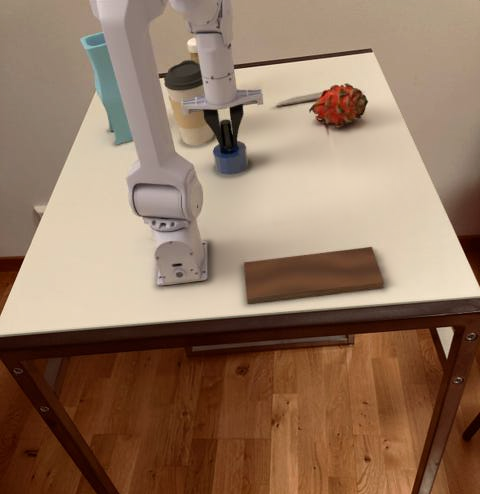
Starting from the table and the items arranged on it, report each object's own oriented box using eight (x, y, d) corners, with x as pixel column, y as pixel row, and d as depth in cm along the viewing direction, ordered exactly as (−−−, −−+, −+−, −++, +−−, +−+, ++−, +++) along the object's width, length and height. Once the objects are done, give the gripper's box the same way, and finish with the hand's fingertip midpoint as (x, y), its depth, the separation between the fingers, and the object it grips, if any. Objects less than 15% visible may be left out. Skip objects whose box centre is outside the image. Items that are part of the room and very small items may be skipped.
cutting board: (383, 287, 74) (384, 282, 73) (247, 303, 75) (246, 298, 74) (371, 252, 80) (371, 246, 79) (244, 267, 81) (243, 262, 80)
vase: (150, 134, 114) (124, 39, 99) (116, 145, 113) (85, 50, 98) (141, 120, 119) (116, 28, 105) (109, 130, 118) (78, 38, 103)
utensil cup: (249, 173, 99) (247, 155, 96) (216, 178, 99) (212, 160, 96) (247, 156, 103) (245, 138, 100) (215, 160, 103) (212, 142, 100)
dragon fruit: (371, 129, 107) (314, 141, 110) (367, 91, 108) (310, 104, 111) (370, 110, 99) (308, 123, 102) (365, 69, 100) (304, 83, 103)
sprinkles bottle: (194, 103, 122) (183, 44, 112) (202, 95, 124) (191, 36, 115) (212, 104, 120) (202, 44, 110) (219, 95, 123) (210, 36, 113)
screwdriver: (236, 161, 101) (230, 118, 95) (237, 167, 100) (230, 124, 93) (226, 162, 101) (219, 119, 95) (226, 168, 100) (219, 125, 93)
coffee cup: (213, 149, 107) (200, 76, 95) (172, 149, 109) (155, 78, 97) (222, 127, 112) (211, 56, 101) (184, 127, 114) (169, 58, 103)
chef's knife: (272, 102, 118) (274, 107, 115) (272, 97, 117) (274, 102, 115) (354, 88, 117) (358, 93, 115) (355, 83, 116) (358, 88, 114)
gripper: (258, 56, 90) (264, 129, 100) (177, 68, 90) (191, 139, 100) (261, 73, 85) (267, 147, 95) (175, 85, 86) (191, 158, 96)
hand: (228, 144), depth 97 cm, fingers closed on screwdriver, 2 cm apart
